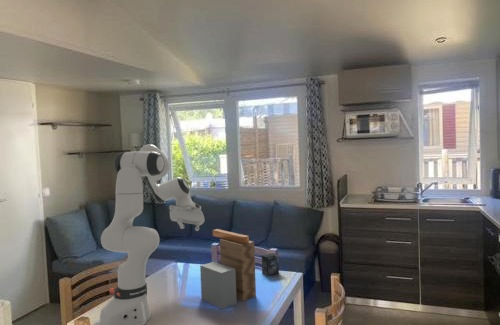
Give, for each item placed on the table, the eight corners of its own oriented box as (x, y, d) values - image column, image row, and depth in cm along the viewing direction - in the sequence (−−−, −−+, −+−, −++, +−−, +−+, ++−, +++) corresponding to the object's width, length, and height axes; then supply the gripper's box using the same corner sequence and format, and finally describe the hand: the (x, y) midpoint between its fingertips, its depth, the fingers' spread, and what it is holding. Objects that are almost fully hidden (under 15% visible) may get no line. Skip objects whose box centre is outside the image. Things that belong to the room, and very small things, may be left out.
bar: (244, 243, 180) (243, 237, 180) (212, 235, 198) (212, 230, 198) (248, 242, 182) (248, 236, 182) (217, 234, 200) (217, 229, 200)
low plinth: (222, 308, 171) (221, 272, 170) (201, 299, 183) (200, 265, 182) (236, 303, 176) (235, 268, 175) (215, 294, 188) (213, 261, 187)
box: (267, 276, 212) (267, 257, 211) (261, 273, 216) (261, 254, 216) (279, 273, 216) (278, 254, 216) (273, 270, 221) (272, 252, 220)
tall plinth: (243, 301, 179) (241, 245, 178) (221, 292, 191) (219, 239, 190) (255, 296, 184) (254, 241, 183) (234, 287, 196) (232, 236, 195)
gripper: (171, 200, 201) (176, 223, 193) (203, 206, 215) (209, 228, 207) (165, 207, 204) (169, 230, 196) (196, 212, 218) (202, 234, 210)
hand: (190, 229), depth 202 cm, fingers open, 8 cm apart
